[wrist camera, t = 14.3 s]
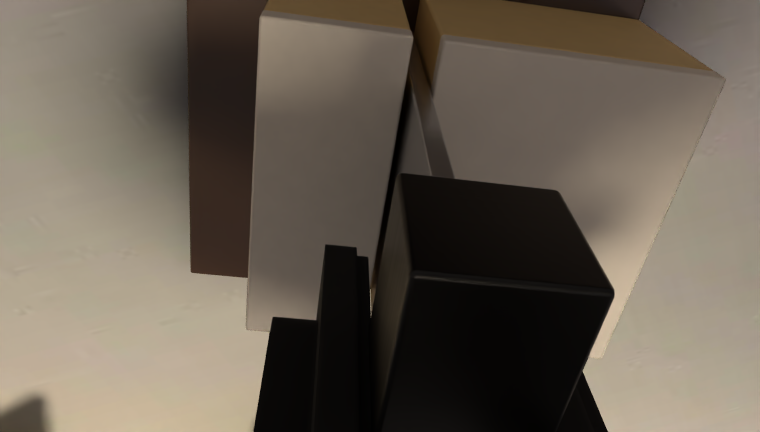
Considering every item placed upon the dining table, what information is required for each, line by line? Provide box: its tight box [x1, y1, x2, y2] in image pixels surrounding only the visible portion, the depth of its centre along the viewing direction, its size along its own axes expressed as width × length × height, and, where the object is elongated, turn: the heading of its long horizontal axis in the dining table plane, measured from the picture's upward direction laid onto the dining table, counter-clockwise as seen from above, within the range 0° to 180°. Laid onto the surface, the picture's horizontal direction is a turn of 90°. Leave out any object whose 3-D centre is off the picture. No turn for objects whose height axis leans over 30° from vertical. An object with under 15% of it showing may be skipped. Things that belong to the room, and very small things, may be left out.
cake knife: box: [369, 31, 615, 432], centre depth 13 cm, size 8×2×12 cm, turn 172°
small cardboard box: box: [246, 0, 413, 332], centre depth 16 cm, size 8×3×5 cm, turn 172°
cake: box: [414, 0, 726, 359], centre depth 17 cm, size 8×6×5 cm
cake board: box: [187, 0, 645, 289], centre depth 19 cm, size 11×12×1 cm
